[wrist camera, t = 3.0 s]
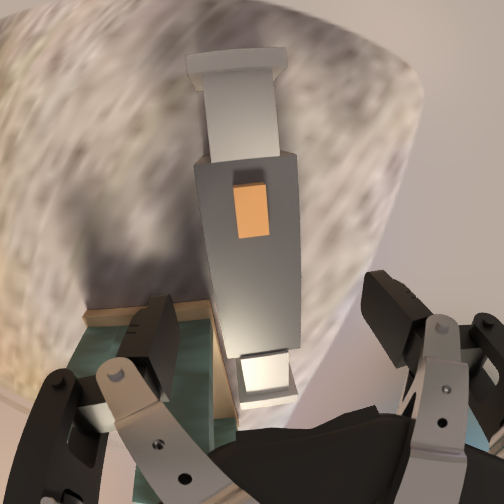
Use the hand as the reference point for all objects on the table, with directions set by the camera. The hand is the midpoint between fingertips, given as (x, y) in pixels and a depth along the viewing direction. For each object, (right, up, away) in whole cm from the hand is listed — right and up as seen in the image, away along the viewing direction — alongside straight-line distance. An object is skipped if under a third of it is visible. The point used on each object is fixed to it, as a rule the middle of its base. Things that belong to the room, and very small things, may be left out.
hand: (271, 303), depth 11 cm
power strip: (-1, +3, +6) cm, 7 cm away
